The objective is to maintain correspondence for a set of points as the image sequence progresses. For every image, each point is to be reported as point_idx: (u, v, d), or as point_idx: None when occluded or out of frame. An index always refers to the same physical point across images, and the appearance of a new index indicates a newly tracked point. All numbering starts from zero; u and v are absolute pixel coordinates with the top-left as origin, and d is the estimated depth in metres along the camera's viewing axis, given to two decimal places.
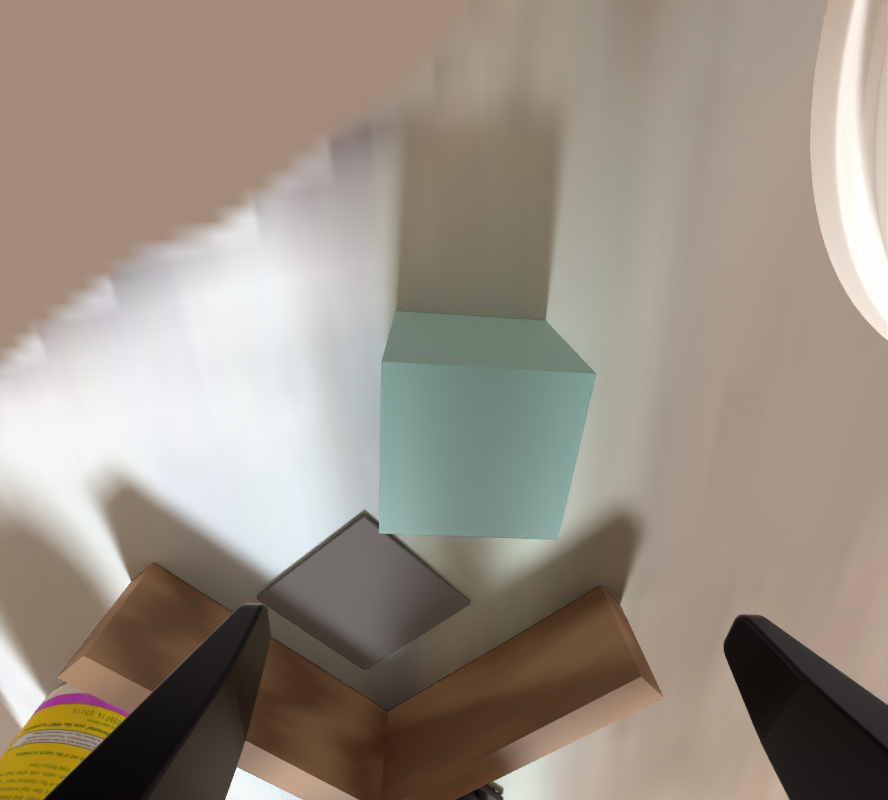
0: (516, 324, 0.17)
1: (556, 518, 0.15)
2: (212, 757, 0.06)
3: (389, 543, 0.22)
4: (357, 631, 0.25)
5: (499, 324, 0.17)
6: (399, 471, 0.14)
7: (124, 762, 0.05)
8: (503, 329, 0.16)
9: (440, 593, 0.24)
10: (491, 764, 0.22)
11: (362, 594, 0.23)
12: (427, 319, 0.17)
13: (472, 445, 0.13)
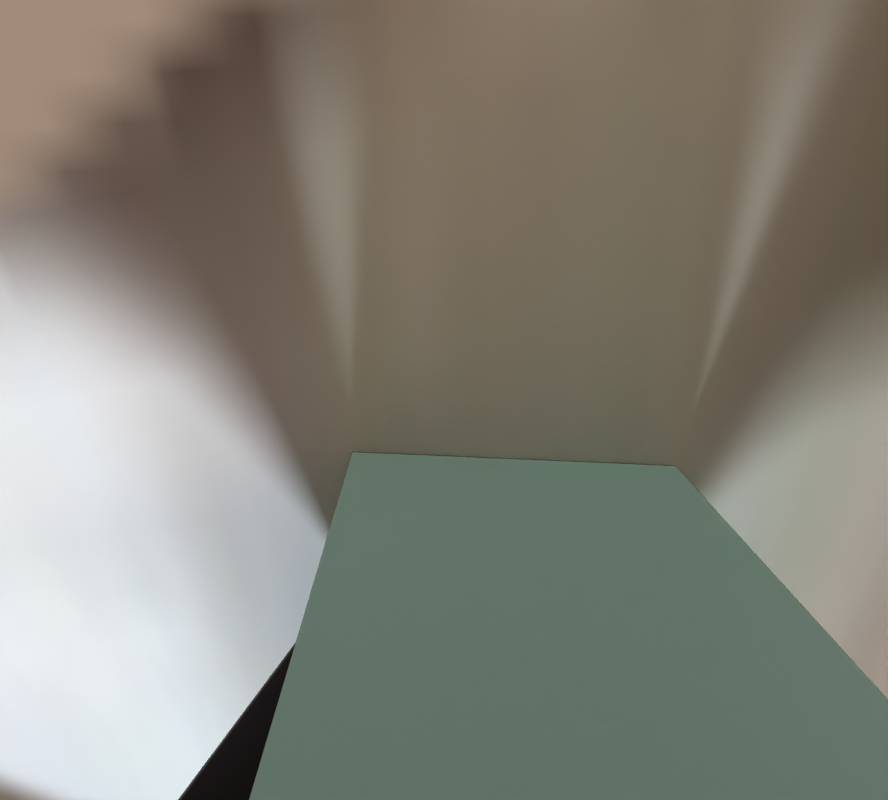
0: (626, 496, 0.07)
1: None
2: None
3: None
4: None
5: (590, 501, 0.07)
6: None
7: (245, 763, 0.05)
8: (608, 531, 0.07)
9: None
10: None
11: None
12: (420, 493, 0.07)
13: None
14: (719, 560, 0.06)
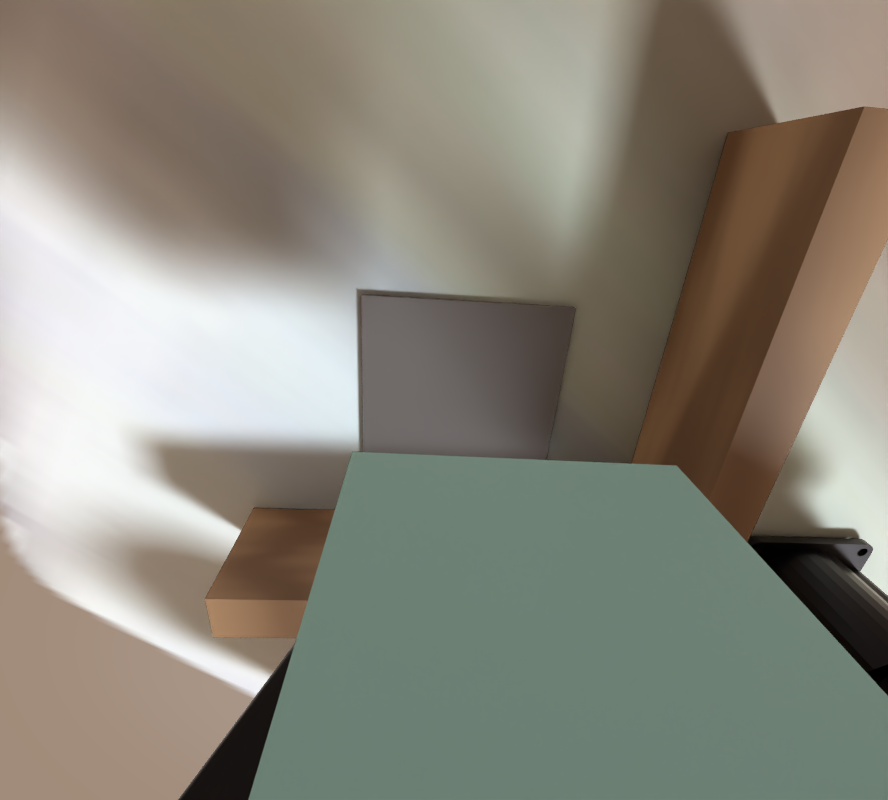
0: (628, 496, 0.07)
1: None
2: None
3: (415, 304, 0.16)
4: (489, 441, 0.19)
5: (591, 501, 0.07)
6: None
7: (246, 762, 0.05)
8: (609, 531, 0.06)
9: (529, 322, 0.17)
10: (752, 448, 0.14)
11: (450, 392, 0.18)
12: (420, 492, 0.07)
13: None
14: (721, 560, 0.06)
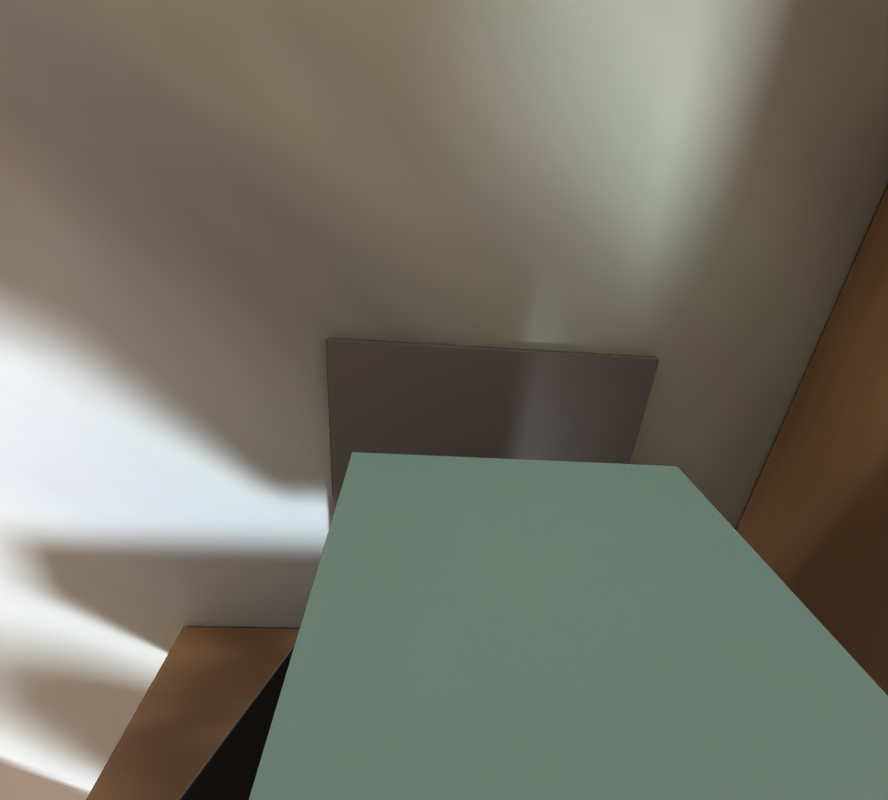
0: (628, 497, 0.07)
1: None
2: None
3: (411, 354, 0.11)
4: None
5: (591, 502, 0.07)
6: None
7: (245, 763, 0.05)
8: (610, 531, 0.06)
9: (586, 380, 0.11)
10: None
11: None
12: (420, 493, 0.07)
13: None
14: (722, 561, 0.06)
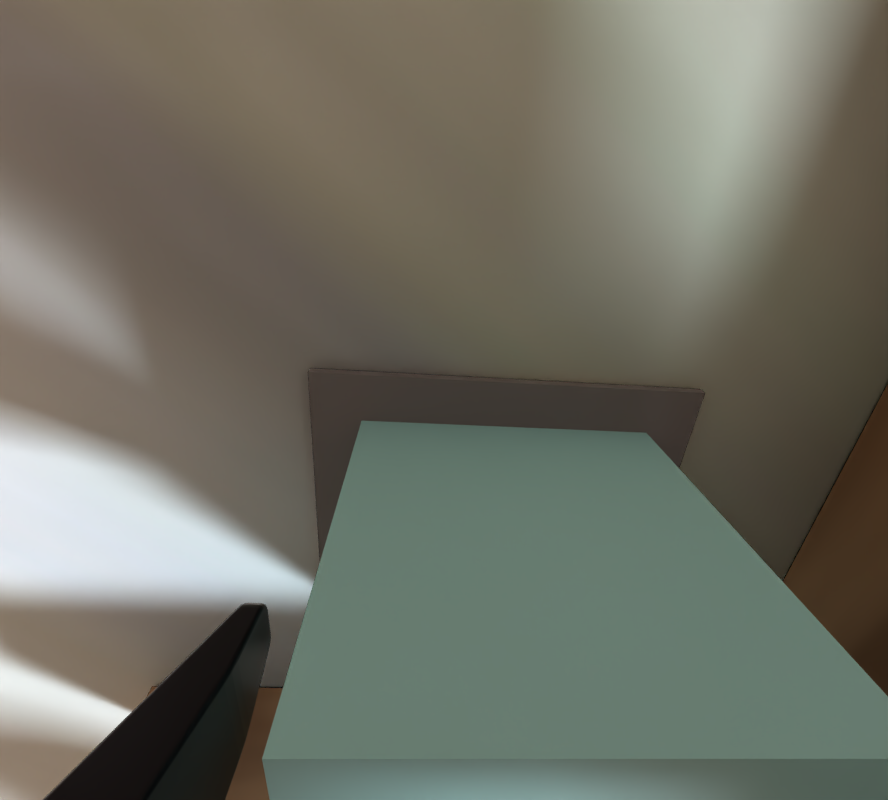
0: (600, 455, 0.08)
1: None
2: (212, 757, 0.06)
3: (410, 386, 0.09)
4: None
5: (568, 459, 0.08)
6: None
7: (125, 762, 0.05)
8: (582, 481, 0.08)
9: (617, 416, 0.09)
10: None
11: None
12: (421, 451, 0.08)
13: None
14: (674, 502, 0.07)
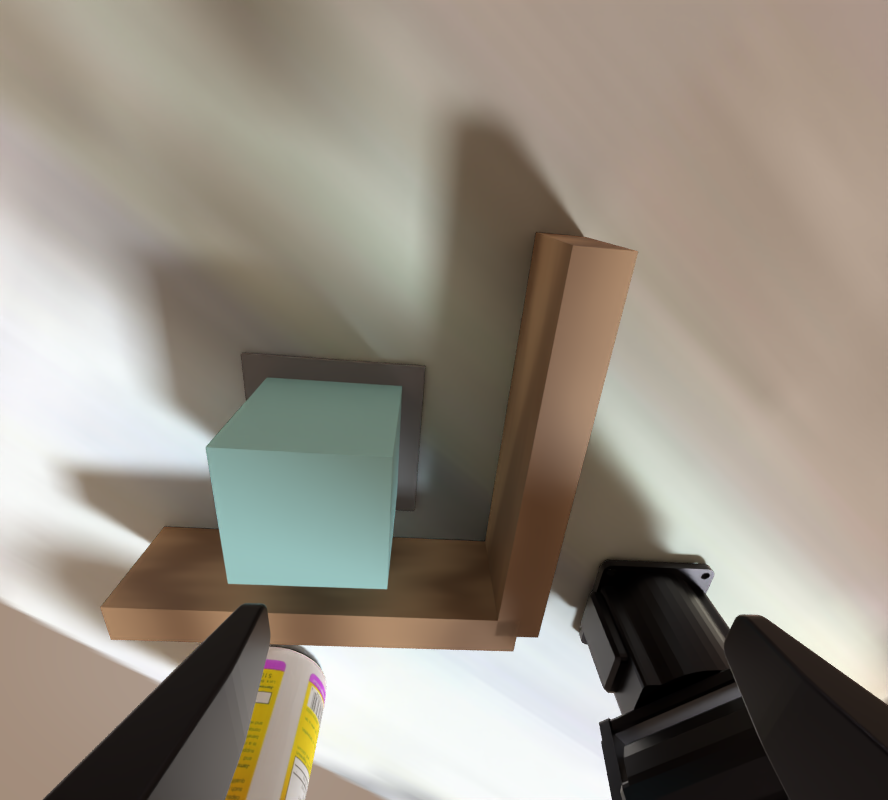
0: (369, 393, 0.19)
1: (382, 571, 0.17)
2: (212, 757, 0.06)
3: (288, 362, 0.19)
4: None
5: (352, 394, 0.19)
6: (237, 534, 0.16)
7: (124, 763, 0.05)
8: (351, 400, 0.18)
9: (386, 377, 0.20)
10: (542, 494, 0.17)
11: None
12: (288, 389, 0.19)
13: (296, 513, 0.15)
14: (383, 408, 0.18)
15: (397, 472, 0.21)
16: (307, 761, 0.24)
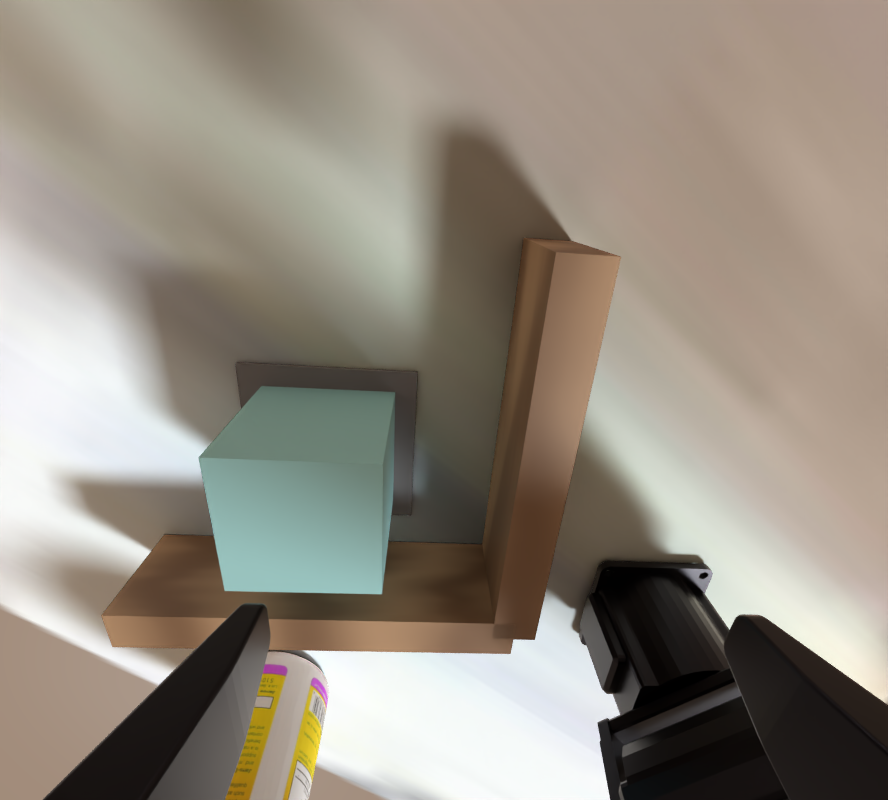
0: (362, 400, 0.19)
1: (376, 577, 0.17)
2: (212, 757, 0.06)
3: (281, 370, 0.20)
4: None
5: (345, 401, 0.19)
6: (232, 542, 0.16)
7: (124, 762, 0.05)
8: (344, 408, 0.18)
9: (379, 384, 0.20)
10: (534, 498, 0.17)
11: None
12: (282, 397, 0.19)
13: (289, 520, 0.16)
14: (375, 415, 0.18)
15: (392, 477, 0.21)
16: (309, 765, 0.24)
